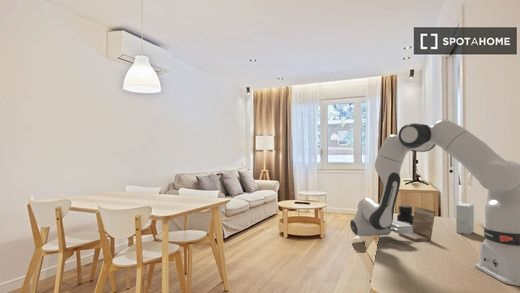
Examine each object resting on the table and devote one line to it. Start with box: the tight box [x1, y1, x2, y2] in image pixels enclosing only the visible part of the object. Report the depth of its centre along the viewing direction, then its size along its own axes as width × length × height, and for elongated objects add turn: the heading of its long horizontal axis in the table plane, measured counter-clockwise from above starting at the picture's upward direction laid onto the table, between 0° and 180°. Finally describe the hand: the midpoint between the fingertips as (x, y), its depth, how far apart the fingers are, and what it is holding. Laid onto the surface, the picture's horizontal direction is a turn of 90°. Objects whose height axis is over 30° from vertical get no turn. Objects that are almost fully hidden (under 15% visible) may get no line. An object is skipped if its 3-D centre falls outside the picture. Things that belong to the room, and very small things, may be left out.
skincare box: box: [455, 202, 475, 236], centre depth 161 cm, size 8×6×15 cm
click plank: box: [412, 206, 436, 241], centre depth 153 cm, size 2×12×14 cm, turn 11°
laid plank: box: [398, 232, 429, 243], centre depth 151 cm, size 7×12×2 cm, turn 12°
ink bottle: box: [396, 204, 414, 225], centre depth 173 cm, size 10×9×12 cm
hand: (408, 224), depth 151 cm, fingers closed
